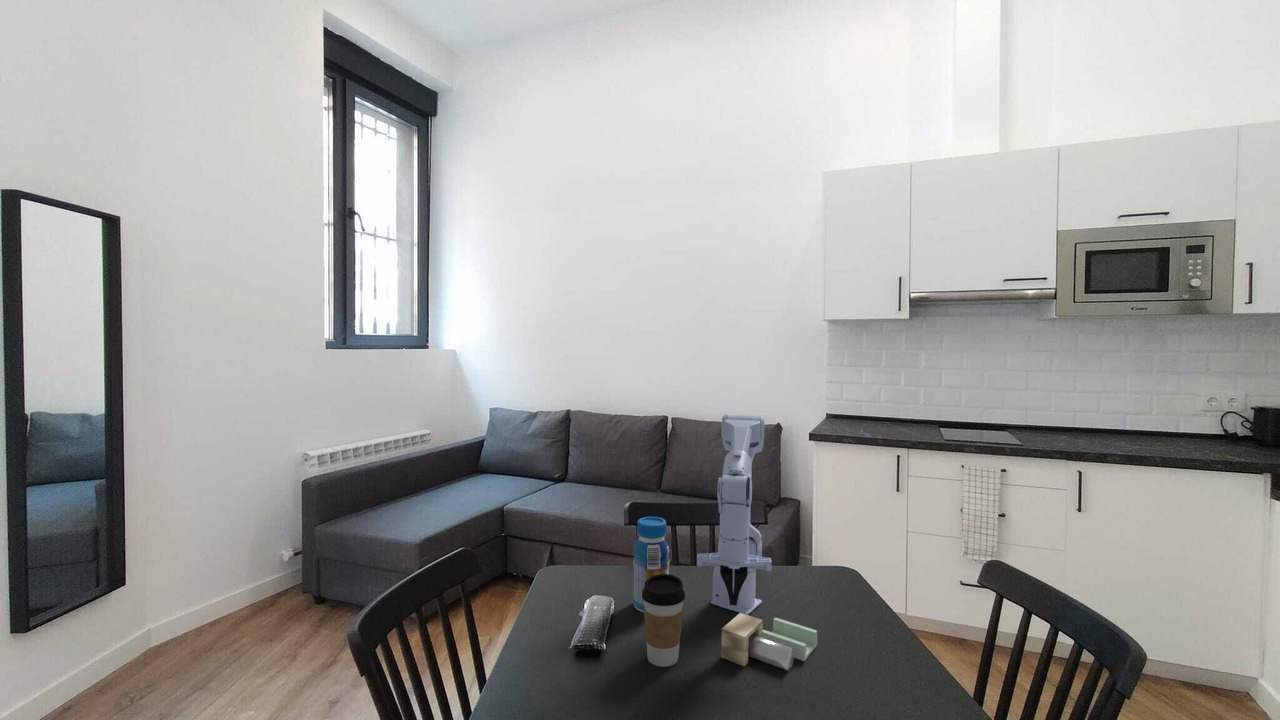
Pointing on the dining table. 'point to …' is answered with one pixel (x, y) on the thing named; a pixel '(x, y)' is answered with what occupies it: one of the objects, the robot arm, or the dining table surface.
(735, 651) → the wooden bridge block
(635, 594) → the beverage bottle
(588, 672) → the dining table surface
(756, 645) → the axle
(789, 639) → the cradle
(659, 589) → the coffee cup
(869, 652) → the dining table surface
